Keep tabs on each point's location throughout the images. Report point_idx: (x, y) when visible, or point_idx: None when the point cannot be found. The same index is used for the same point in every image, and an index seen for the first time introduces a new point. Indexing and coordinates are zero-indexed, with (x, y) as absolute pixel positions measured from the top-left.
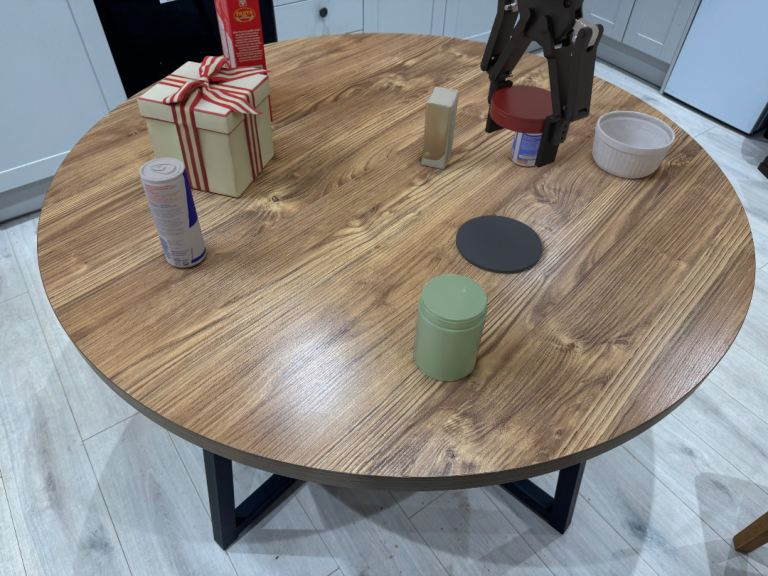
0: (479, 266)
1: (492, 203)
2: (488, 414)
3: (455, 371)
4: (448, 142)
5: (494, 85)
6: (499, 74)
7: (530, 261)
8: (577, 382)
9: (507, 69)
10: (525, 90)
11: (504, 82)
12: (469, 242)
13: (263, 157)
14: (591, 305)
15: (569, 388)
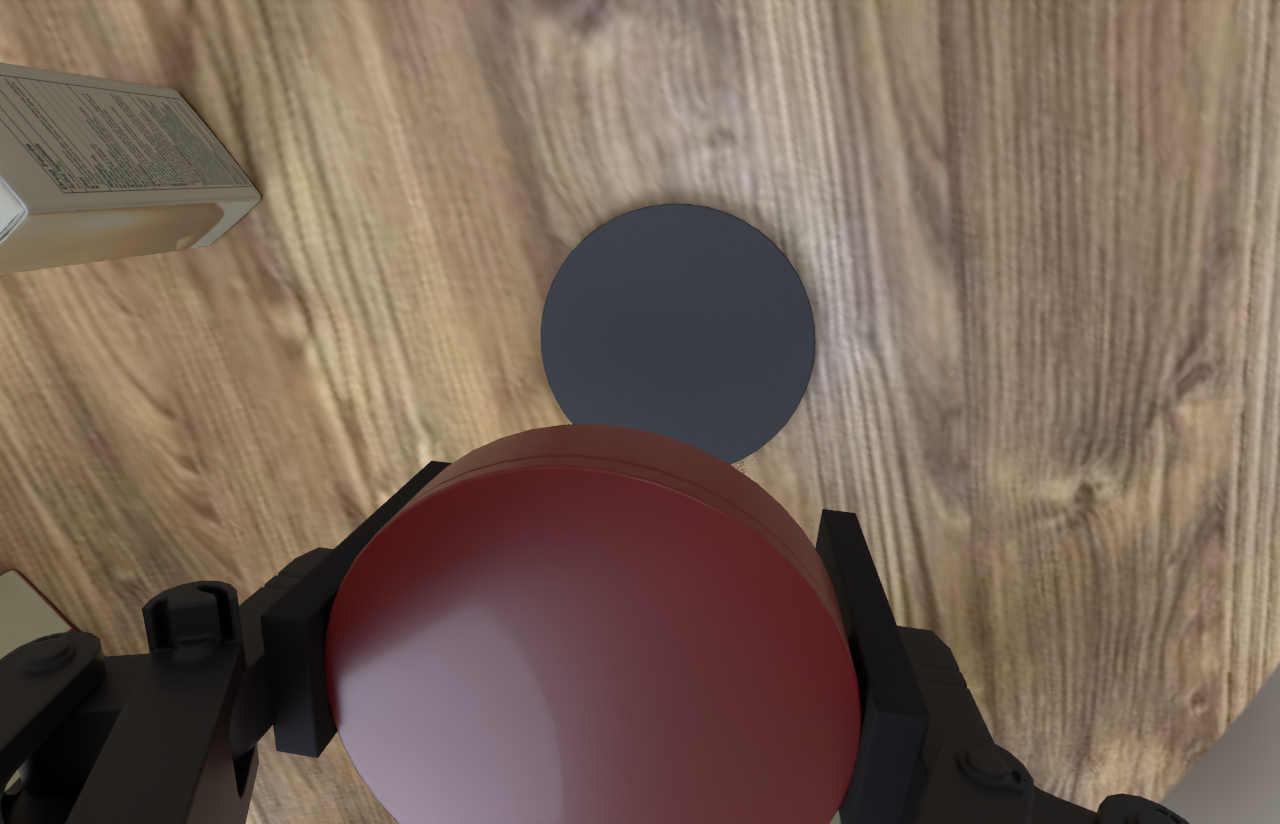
0: None
1: (504, 197)
2: (1048, 760)
3: None
4: (173, 179)
5: (293, 749)
6: (243, 801)
7: (801, 340)
8: (1161, 572)
9: (229, 788)
10: (436, 605)
11: (285, 673)
12: (624, 422)
13: (35, 635)
14: (1046, 327)
15: (1154, 599)
